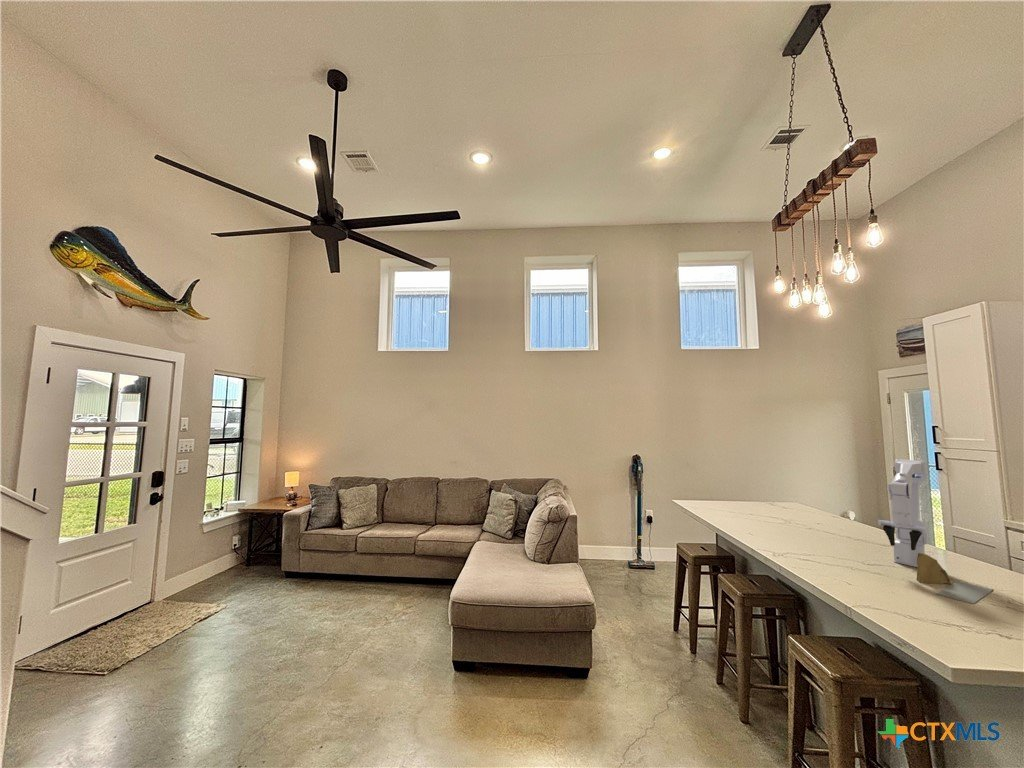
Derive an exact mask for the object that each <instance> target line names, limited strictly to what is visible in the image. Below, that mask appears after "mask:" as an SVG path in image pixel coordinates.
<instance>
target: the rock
mask: <svg viewBox="0 0 1024 768" xmlns="http://www.w3.org/2000/svg"><path fill="white" fill-rule="evenodd" d="M917 565H918V567H917V572H916V581H917V582H918V583H927V584H953V583H952V580H951V578H950V576H949V574H948V573H947V571H946V570H945V569H944V568H943V567H942V566H941V564H939V562H938V560H937V559H935V558H933V557H932V556H930V555H928V554H926V553H925V554H921V553H918V556H917Z"/></svg>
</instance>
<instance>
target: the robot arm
mask: <svg viewBox="0 0 1024 768" xmlns="http://www.w3.org/2000/svg"><path fill="white" fill-rule="evenodd" d="M894 471H895V473H896V474H895V475H894V478H893V479H892V481H891V482H888V486H887V491H888V494H889V501H890V507H891V509H890V510H891V520H885V519H884V520H883V519H878V520H877V526H883V527H882V530H883V531H884V533H885V535H886V536H887V538H888V541H889V544H890V546H892V547H893V562H894V563H897V564H903V565H906V566H909V567H910V566H911V567H914V568H918V565H917V556H918V553H921V554H926V552H925V551H926V550H925V545H927V544H929V543H930V536H929V535H930V533H929V527H928V526H927V525H926V524H925V523H924V522H922V521H921V520H920V489H921V488H920V487H921V484H922V483H924V482H927V479H928V465H927V462H926V461H925V460H915V459H901V458H900V459H899V458H896V459H895V460H894ZM895 537H896V539H895Z"/></svg>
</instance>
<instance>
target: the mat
mask: <svg viewBox="0 0 1024 768" xmlns="http://www.w3.org/2000/svg"><path fill="white" fill-rule="evenodd" d="M993 591H994V589H993V588H992V587H991V588H989V587H987V586H981V585H977V584H974V583H969V582H967V581H966V582H965V581H962V580H961V581H960V580H957V581H955V582H953V583H951V584H950V585H948V586H946V587H945V588H943V589H942V590H940V591H938V592H936V595H938V596H942V597H946V598H950V599H952V600H953V599H954V600H956V601H960V602H964V603H966V604H967V603H968V604H970V605H971V604H972V605H974V604H976V603H978V602H979V601H980V600H982V599H983V598H985V597H986V596H988V595H989V594H990V593H992V592H993Z"/></svg>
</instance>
